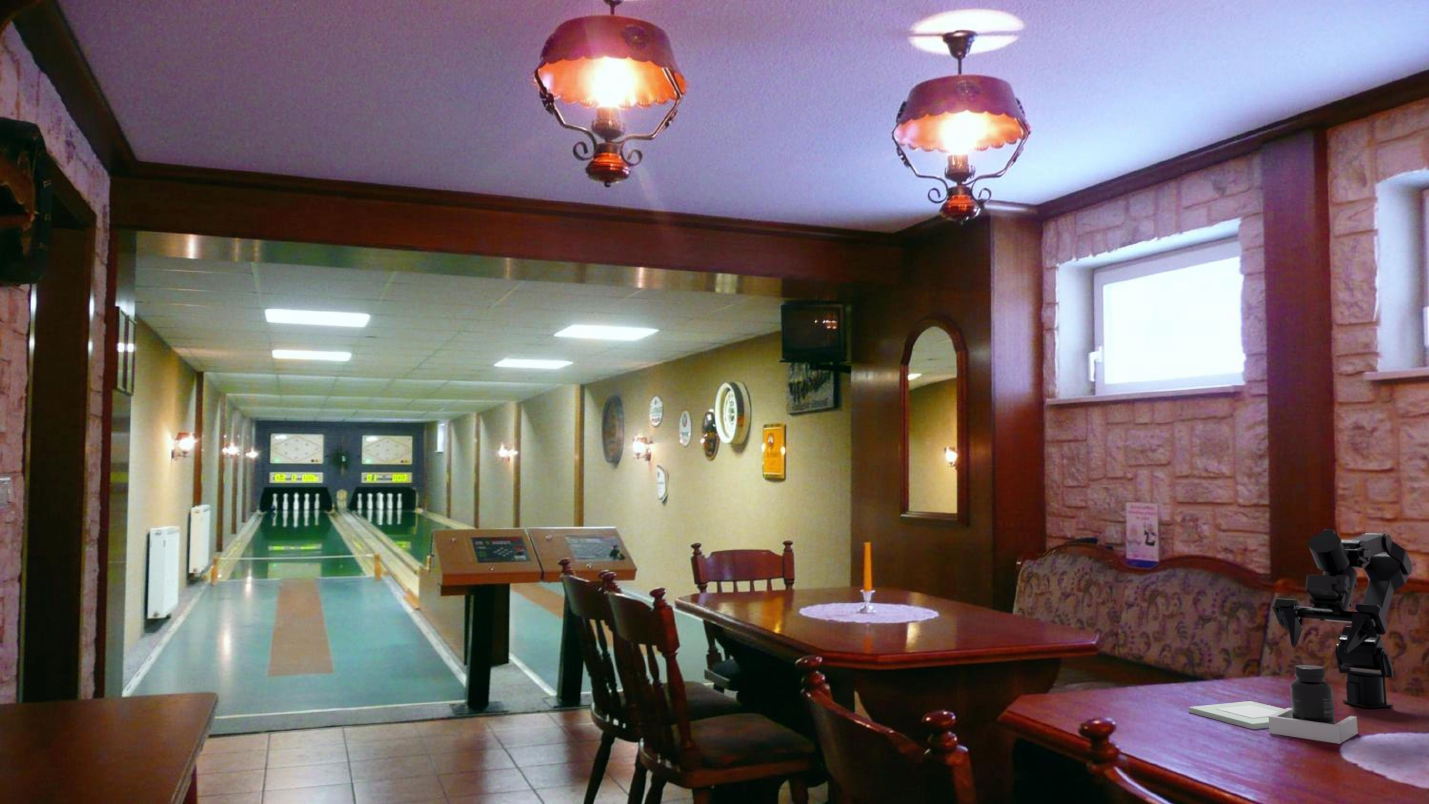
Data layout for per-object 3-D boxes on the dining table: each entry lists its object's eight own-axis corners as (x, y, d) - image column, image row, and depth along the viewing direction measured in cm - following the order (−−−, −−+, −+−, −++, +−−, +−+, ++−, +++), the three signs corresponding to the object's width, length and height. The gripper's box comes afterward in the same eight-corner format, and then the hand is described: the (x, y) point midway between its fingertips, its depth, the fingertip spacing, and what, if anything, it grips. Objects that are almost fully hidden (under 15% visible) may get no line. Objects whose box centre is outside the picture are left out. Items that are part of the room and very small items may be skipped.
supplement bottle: (1324, 728, 191) (1320, 663, 192) (1343, 737, 184) (1339, 669, 185) (1286, 728, 191) (1282, 663, 192) (1303, 737, 185) (1299, 669, 186)
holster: (1289, 723, 195) (1288, 707, 195) (1357, 733, 187) (1356, 716, 187) (1269, 733, 188) (1268, 716, 188) (1339, 743, 179) (1338, 726, 180)
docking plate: (1250, 705, 211) (1250, 700, 211) (1318, 722, 196) (1317, 716, 196) (1188, 712, 206) (1188, 706, 206) (1253, 729, 191) (1252, 723, 191)
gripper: (1273, 558, 207) (1254, 615, 199) (1379, 562, 193) (1362, 624, 185) (1290, 596, 212) (1271, 654, 203) (1394, 602, 198) (1379, 665, 189)
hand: (1319, 648), depth 195 cm, fingers open, 9 cm apart
